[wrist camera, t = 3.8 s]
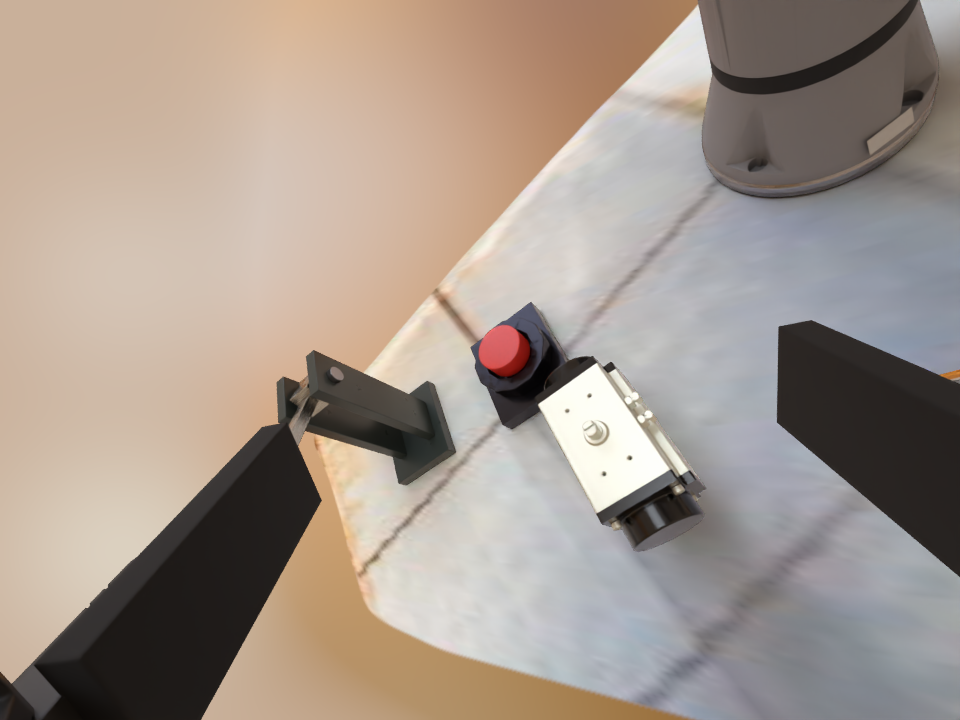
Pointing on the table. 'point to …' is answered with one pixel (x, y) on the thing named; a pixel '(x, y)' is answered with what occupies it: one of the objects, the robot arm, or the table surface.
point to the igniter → (504, 351)
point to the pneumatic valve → (620, 453)
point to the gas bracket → (373, 415)
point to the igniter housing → (520, 389)
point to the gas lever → (303, 409)
